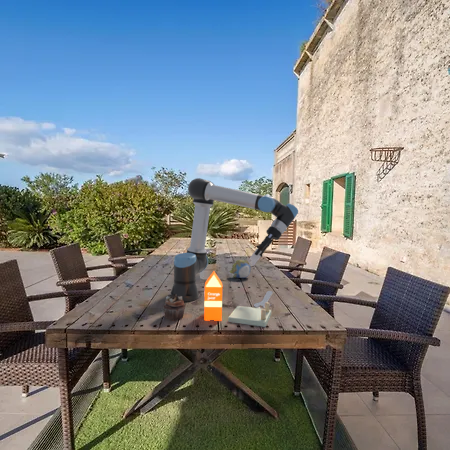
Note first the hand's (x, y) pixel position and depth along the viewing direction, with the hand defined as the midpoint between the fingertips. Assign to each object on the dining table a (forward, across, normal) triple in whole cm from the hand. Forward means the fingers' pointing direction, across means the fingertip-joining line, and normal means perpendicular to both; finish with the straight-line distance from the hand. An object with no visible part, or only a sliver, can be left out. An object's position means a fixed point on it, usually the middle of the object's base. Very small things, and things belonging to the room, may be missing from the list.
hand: (251, 262), depth 148 cm
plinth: (+21, -11, -16) cm, 28 cm away
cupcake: (+42, -15, +11) cm, 46 cm away
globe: (+6, +64, +6) cm, 65 cm away
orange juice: (+31, -12, -2) cm, 34 cm away
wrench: (+10, +17, -17) cm, 26 cm away
